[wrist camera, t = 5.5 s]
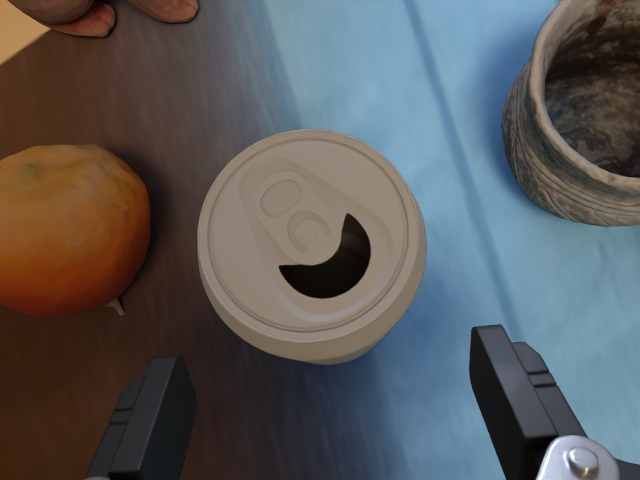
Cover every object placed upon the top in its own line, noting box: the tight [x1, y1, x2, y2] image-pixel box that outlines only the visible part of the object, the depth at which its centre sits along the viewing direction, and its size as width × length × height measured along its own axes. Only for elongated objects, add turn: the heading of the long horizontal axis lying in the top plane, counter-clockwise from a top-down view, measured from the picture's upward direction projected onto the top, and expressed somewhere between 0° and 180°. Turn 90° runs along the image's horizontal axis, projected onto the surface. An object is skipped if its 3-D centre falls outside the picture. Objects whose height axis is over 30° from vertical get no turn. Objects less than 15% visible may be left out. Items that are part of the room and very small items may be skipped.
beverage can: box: [197, 129, 427, 365], centre depth 18 cm, size 6×6×12 cm
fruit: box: [0, 144, 151, 318], centre depth 22 cm, size 8×8×8 cm
